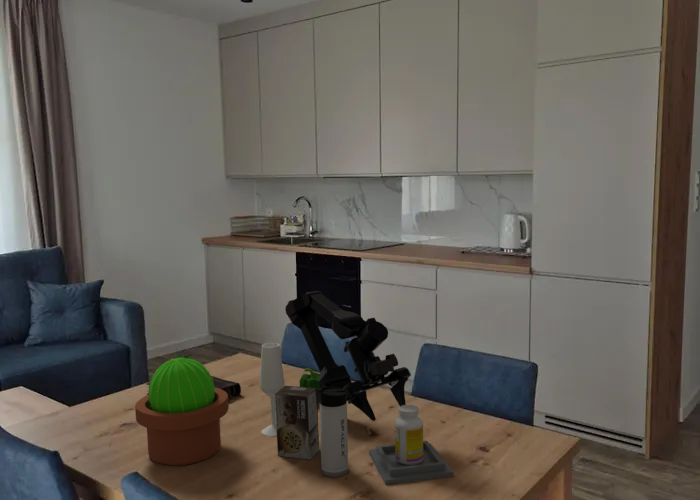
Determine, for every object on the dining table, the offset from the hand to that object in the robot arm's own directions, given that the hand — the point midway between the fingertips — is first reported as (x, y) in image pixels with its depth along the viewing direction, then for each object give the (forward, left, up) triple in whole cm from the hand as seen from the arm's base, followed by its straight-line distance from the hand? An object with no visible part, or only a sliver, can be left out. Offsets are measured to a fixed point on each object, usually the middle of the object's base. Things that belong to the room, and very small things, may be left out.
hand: (389, 415), depth 154 cm
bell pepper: (-14, +41, -10) cm, 44 cm away
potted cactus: (-51, +13, -10) cm, 53 cm away
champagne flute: (-28, +20, -10) cm, 35 cm away
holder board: (+2, -8, -9) cm, 13 cm away
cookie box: (-23, +5, -10) cm, 25 cm away
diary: (-51, +55, -10) cm, 75 cm away
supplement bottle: (+3, -8, -8) cm, 12 cm away
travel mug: (-16, -7, -10) cm, 20 cm away
